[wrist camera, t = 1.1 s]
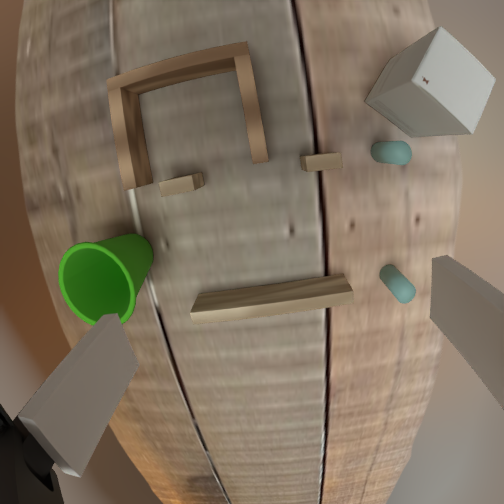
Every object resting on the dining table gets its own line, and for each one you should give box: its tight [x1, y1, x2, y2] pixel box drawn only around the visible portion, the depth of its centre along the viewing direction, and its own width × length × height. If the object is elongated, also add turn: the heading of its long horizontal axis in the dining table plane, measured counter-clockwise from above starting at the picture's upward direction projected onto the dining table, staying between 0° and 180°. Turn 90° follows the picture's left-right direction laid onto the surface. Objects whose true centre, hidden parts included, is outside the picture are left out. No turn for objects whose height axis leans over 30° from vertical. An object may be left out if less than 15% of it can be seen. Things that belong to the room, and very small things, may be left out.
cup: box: [58, 234, 153, 326], centre depth 32 cm, size 9×9×11 cm
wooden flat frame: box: [107, 41, 354, 324], centre depth 32 cm, size 28×22×5 cm
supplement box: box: [365, 26, 495, 137], centre depth 24 cm, size 7×7×13 cm
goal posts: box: [371, 141, 416, 303], centre depth 32 cm, size 17×2×6 cm, turn 9°
